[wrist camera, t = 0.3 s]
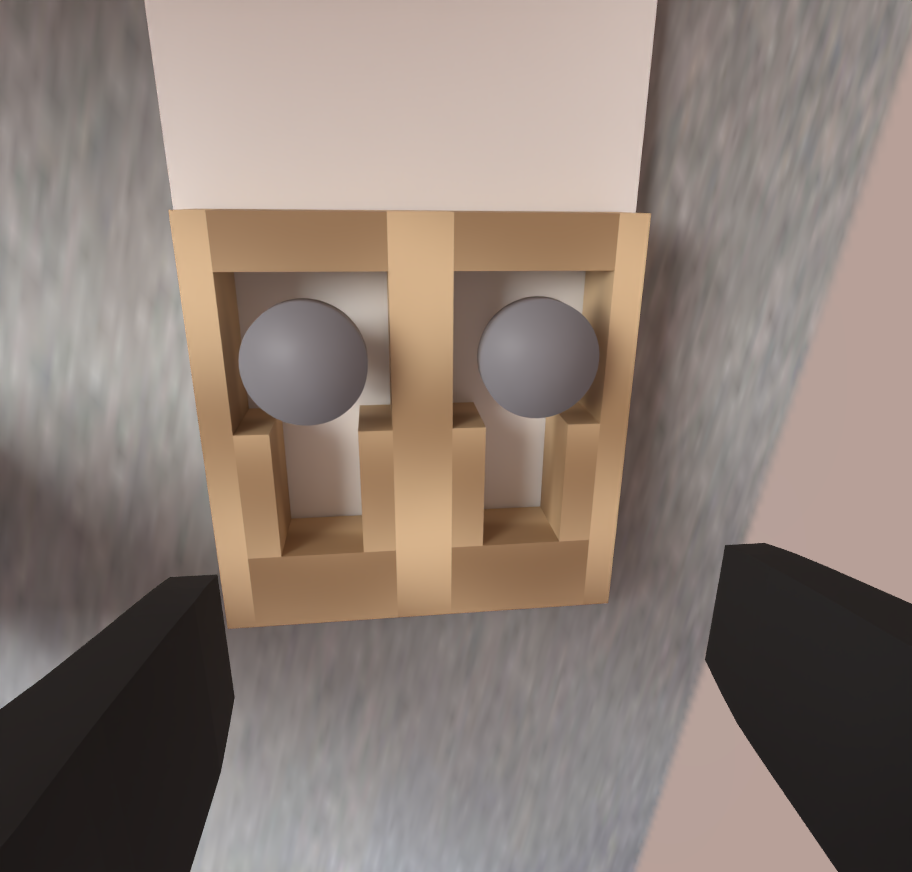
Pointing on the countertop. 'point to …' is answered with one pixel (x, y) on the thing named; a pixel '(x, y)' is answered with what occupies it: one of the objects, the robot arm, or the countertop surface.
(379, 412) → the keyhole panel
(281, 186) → the mounting plate
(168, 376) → the countertop surface
